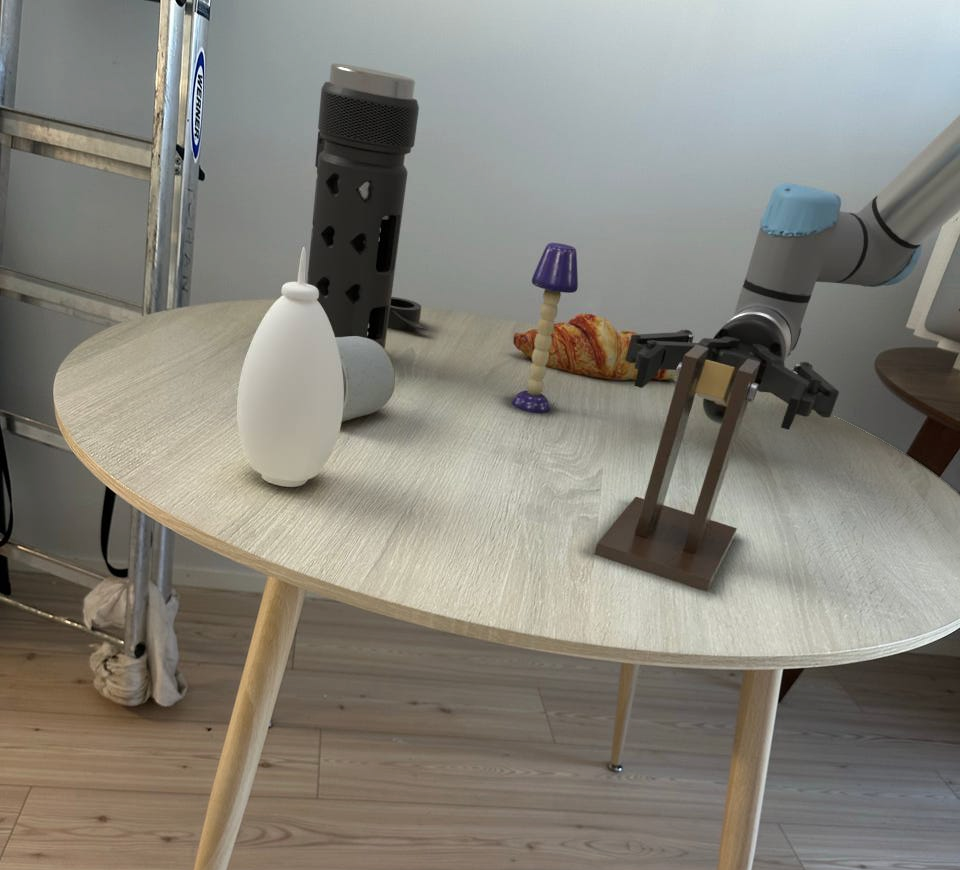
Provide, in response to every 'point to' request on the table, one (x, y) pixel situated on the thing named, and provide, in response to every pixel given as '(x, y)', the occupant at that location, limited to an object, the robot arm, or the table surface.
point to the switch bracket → (647, 522)
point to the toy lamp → (547, 318)
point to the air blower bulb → (291, 388)
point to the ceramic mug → (364, 376)
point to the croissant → (588, 349)
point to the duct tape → (404, 314)
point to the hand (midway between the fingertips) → (714, 392)
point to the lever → (715, 388)
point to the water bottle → (360, 196)
